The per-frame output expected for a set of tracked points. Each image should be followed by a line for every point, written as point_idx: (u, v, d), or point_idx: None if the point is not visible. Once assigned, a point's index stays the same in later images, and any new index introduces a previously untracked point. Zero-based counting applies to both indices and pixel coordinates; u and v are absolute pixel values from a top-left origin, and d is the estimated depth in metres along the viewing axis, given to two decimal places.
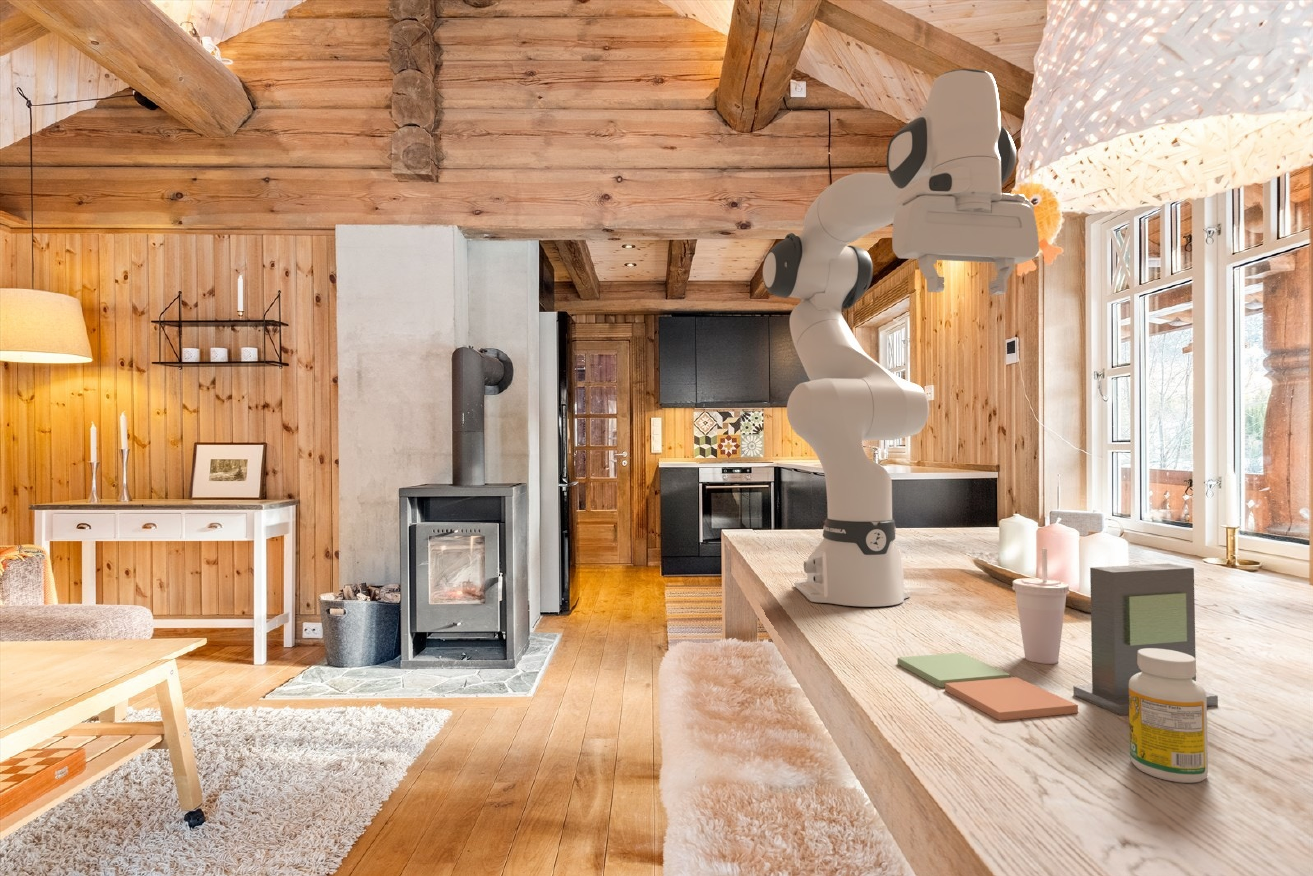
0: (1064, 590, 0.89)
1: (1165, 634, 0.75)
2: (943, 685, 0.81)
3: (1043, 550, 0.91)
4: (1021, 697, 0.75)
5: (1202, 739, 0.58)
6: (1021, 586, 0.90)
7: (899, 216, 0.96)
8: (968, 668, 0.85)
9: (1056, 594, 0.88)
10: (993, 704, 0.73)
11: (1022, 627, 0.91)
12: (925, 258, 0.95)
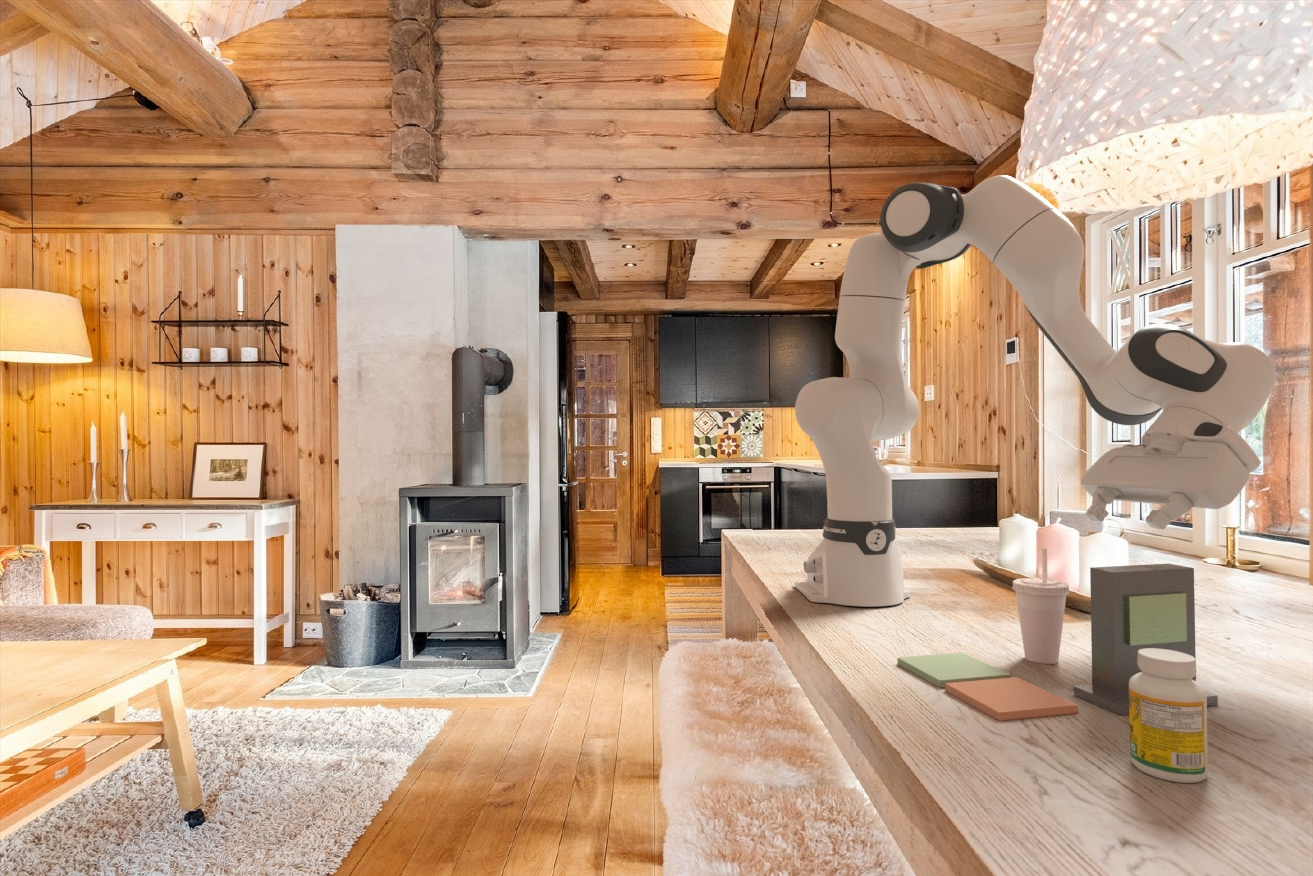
0: (1064, 590, 0.89)
1: (1165, 634, 0.75)
2: (943, 685, 0.81)
3: (1043, 550, 0.91)
4: (1021, 697, 0.75)
5: (1202, 739, 0.58)
6: (1021, 586, 0.90)
7: (1235, 465, 0.86)
8: (968, 668, 0.85)
9: (1056, 594, 0.88)
10: (993, 704, 0.73)
11: (1022, 627, 0.91)
12: (1189, 505, 0.88)
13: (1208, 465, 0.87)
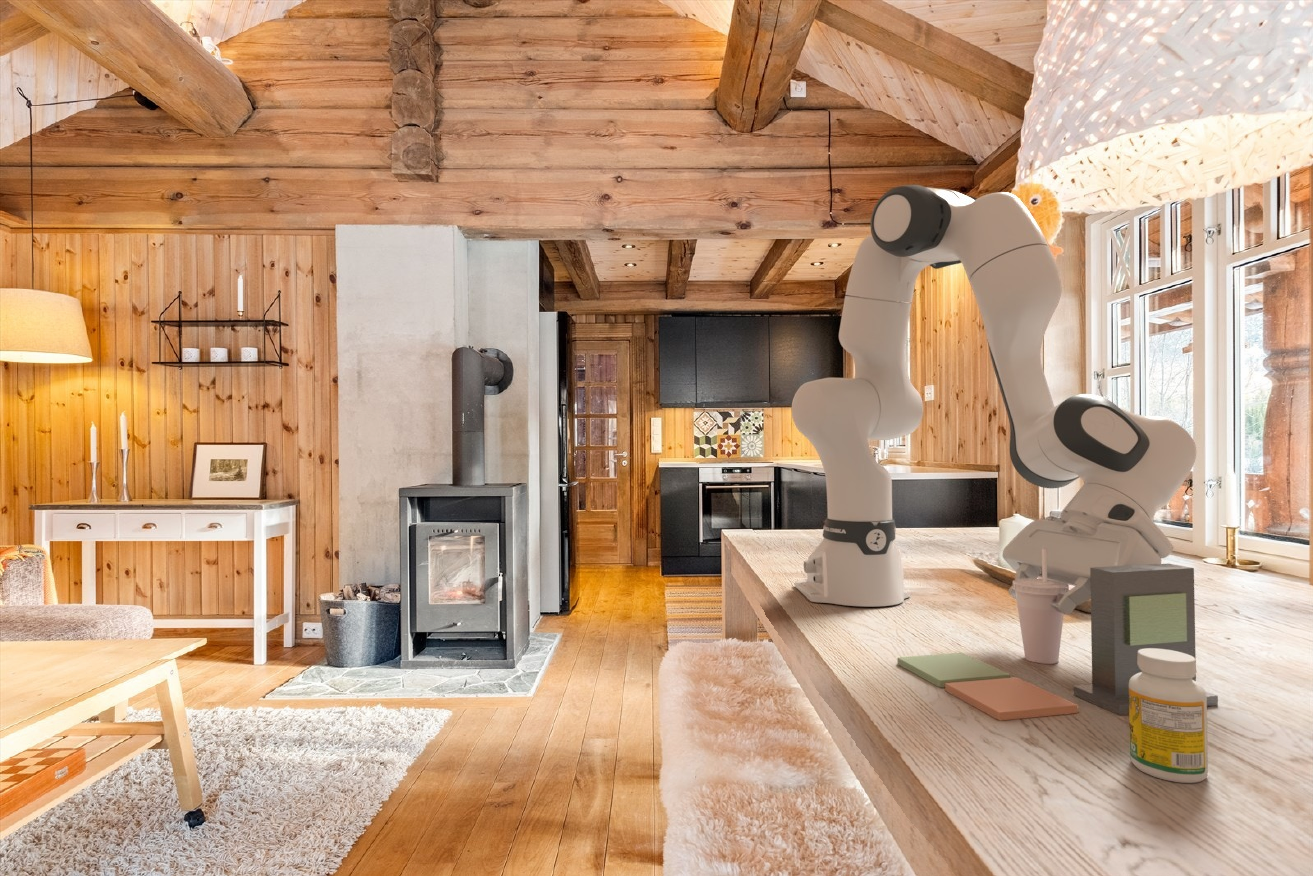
0: (1064, 590, 0.89)
1: (1165, 634, 0.75)
2: (943, 685, 0.81)
3: (1043, 550, 0.91)
4: (1021, 697, 0.75)
5: (1202, 739, 0.58)
6: (1021, 586, 0.90)
7: (1145, 553, 0.83)
8: (968, 668, 0.85)
9: (1055, 594, 0.88)
10: (993, 704, 0.73)
11: (1022, 627, 0.91)
12: None
13: (1119, 552, 0.84)
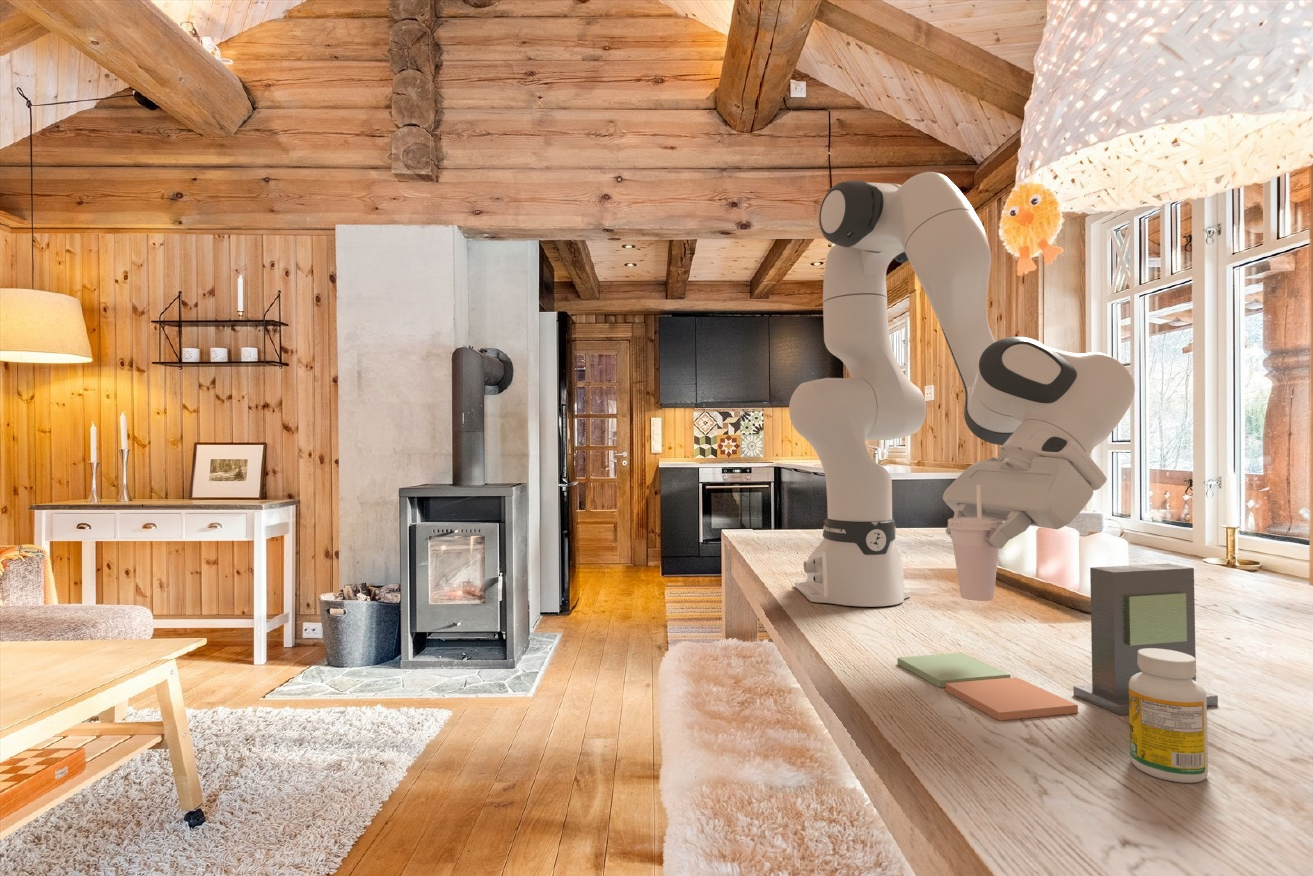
0: (997, 525, 0.87)
1: (1165, 634, 0.75)
2: (943, 685, 0.81)
3: (977, 486, 0.89)
4: (1021, 697, 0.75)
5: (1202, 739, 0.58)
6: (955, 522, 0.88)
7: (1076, 483, 0.81)
8: (968, 668, 0.85)
9: (988, 529, 0.86)
10: (993, 704, 0.73)
11: (957, 565, 0.89)
12: (1026, 523, 0.84)
13: (1050, 483, 0.83)
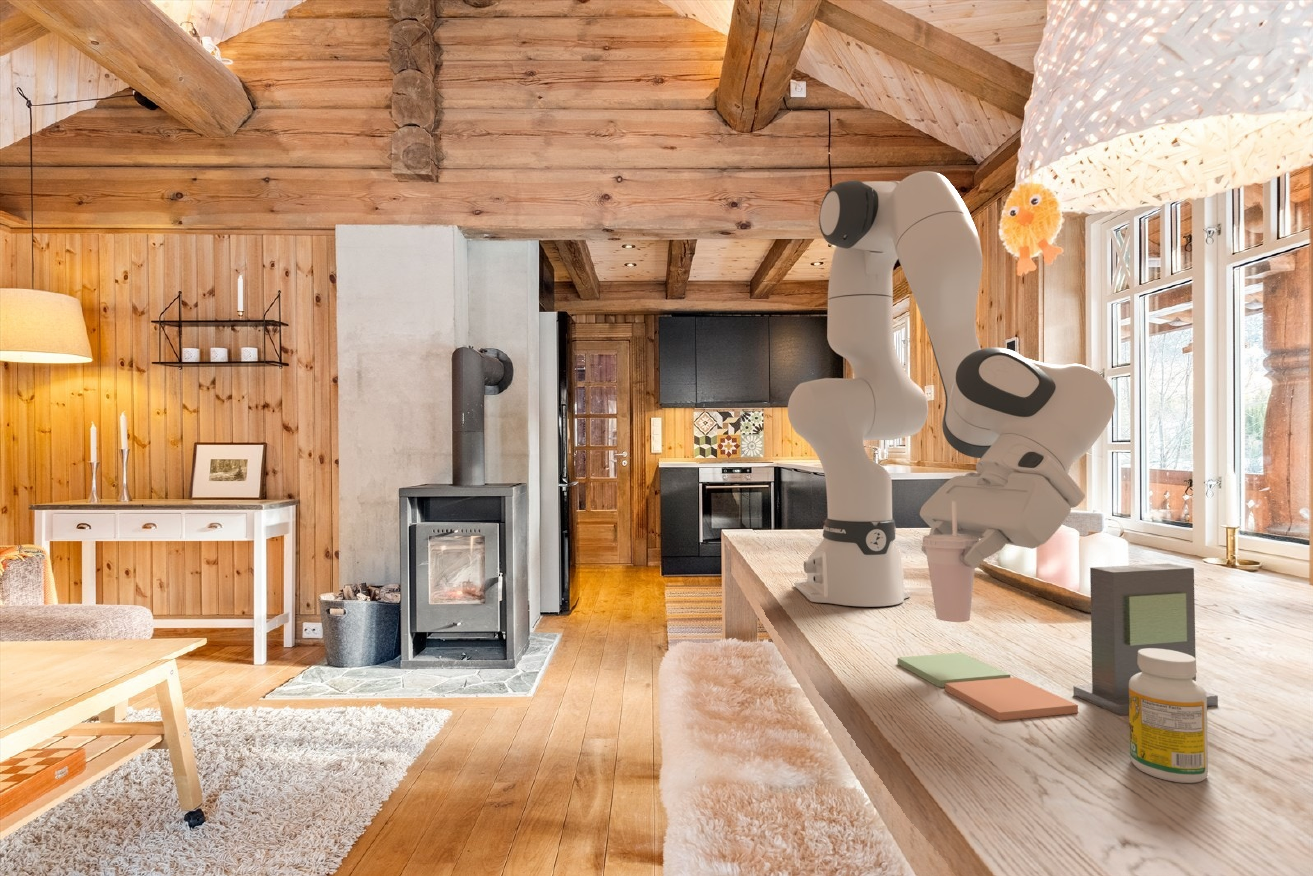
0: (973, 543, 0.84)
1: (1165, 634, 0.75)
2: (943, 685, 0.81)
3: (952, 503, 0.86)
4: (1021, 697, 0.75)
5: (1202, 739, 0.58)
6: (929, 540, 0.85)
7: (1052, 500, 0.78)
8: (968, 668, 0.85)
9: (963, 547, 0.83)
10: (993, 704, 0.73)
11: (932, 584, 0.86)
12: (1002, 542, 0.81)
13: (1026, 500, 0.80)
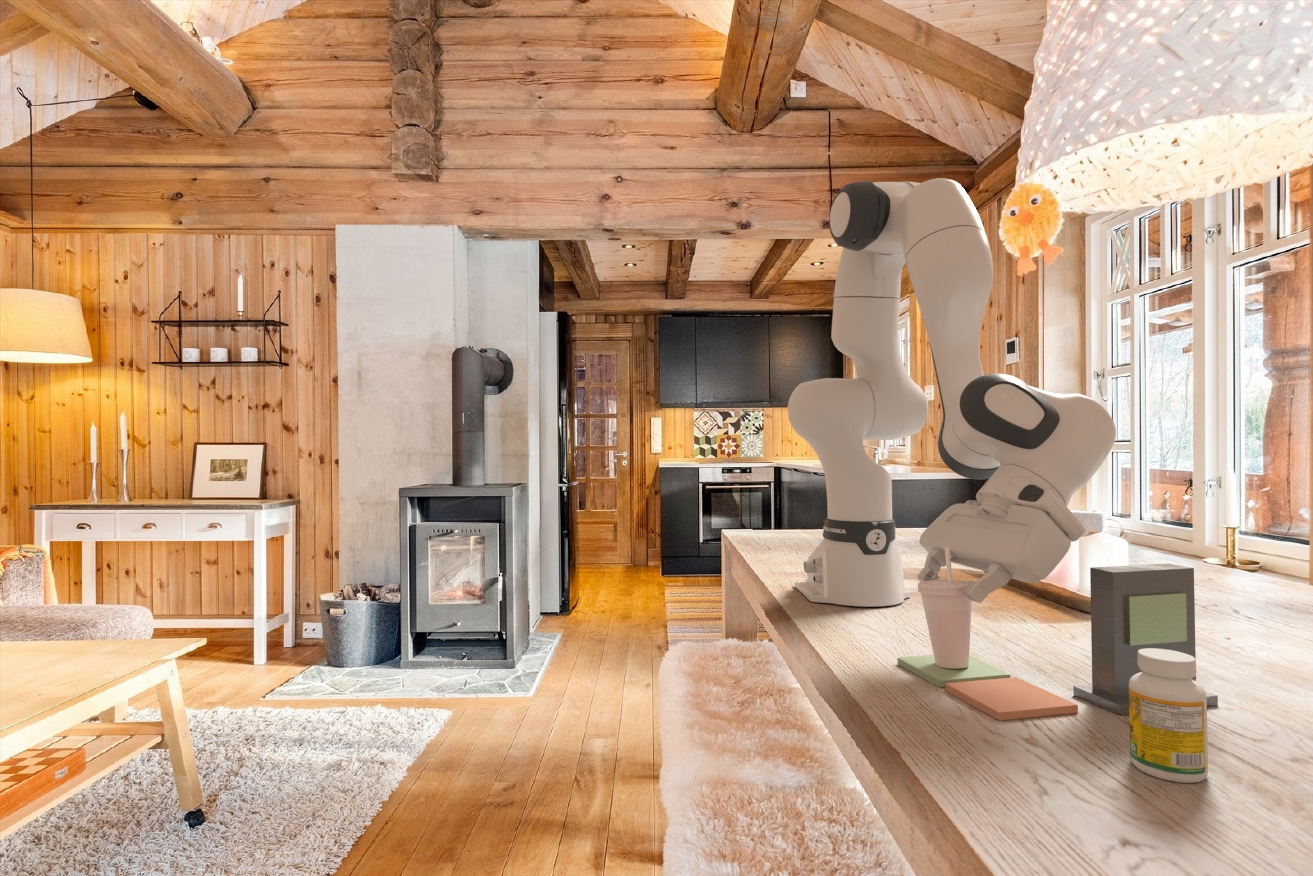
0: None
1: (1165, 634, 0.75)
2: (943, 685, 0.81)
3: (946, 548, 0.87)
4: (1021, 697, 0.75)
5: (1202, 739, 0.58)
6: (925, 587, 0.86)
7: (1052, 535, 0.78)
8: (968, 668, 0.85)
9: (959, 594, 0.84)
10: (993, 704, 0.73)
11: (930, 631, 0.87)
12: (1007, 577, 0.81)
13: (1026, 534, 0.80)
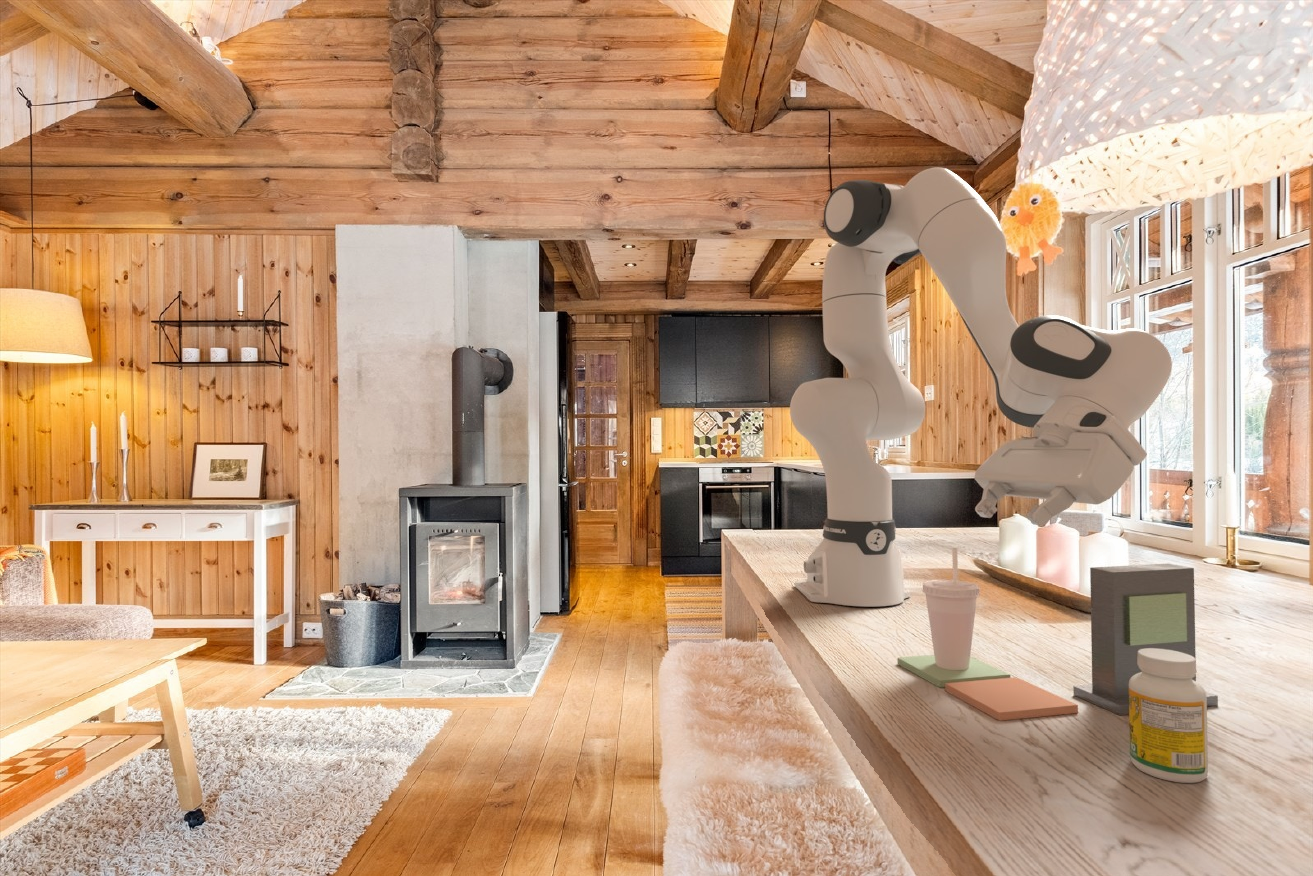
0: (973, 592, 0.84)
1: (1165, 634, 0.75)
2: (943, 685, 0.81)
3: (953, 550, 0.86)
4: (1021, 697, 0.75)
5: (1202, 739, 0.58)
6: (930, 588, 0.85)
7: (1116, 457, 0.80)
8: (968, 668, 0.85)
9: (964, 597, 0.83)
10: (993, 704, 0.73)
11: (932, 631, 0.86)
12: (1070, 500, 0.82)
13: (1089, 457, 0.81)
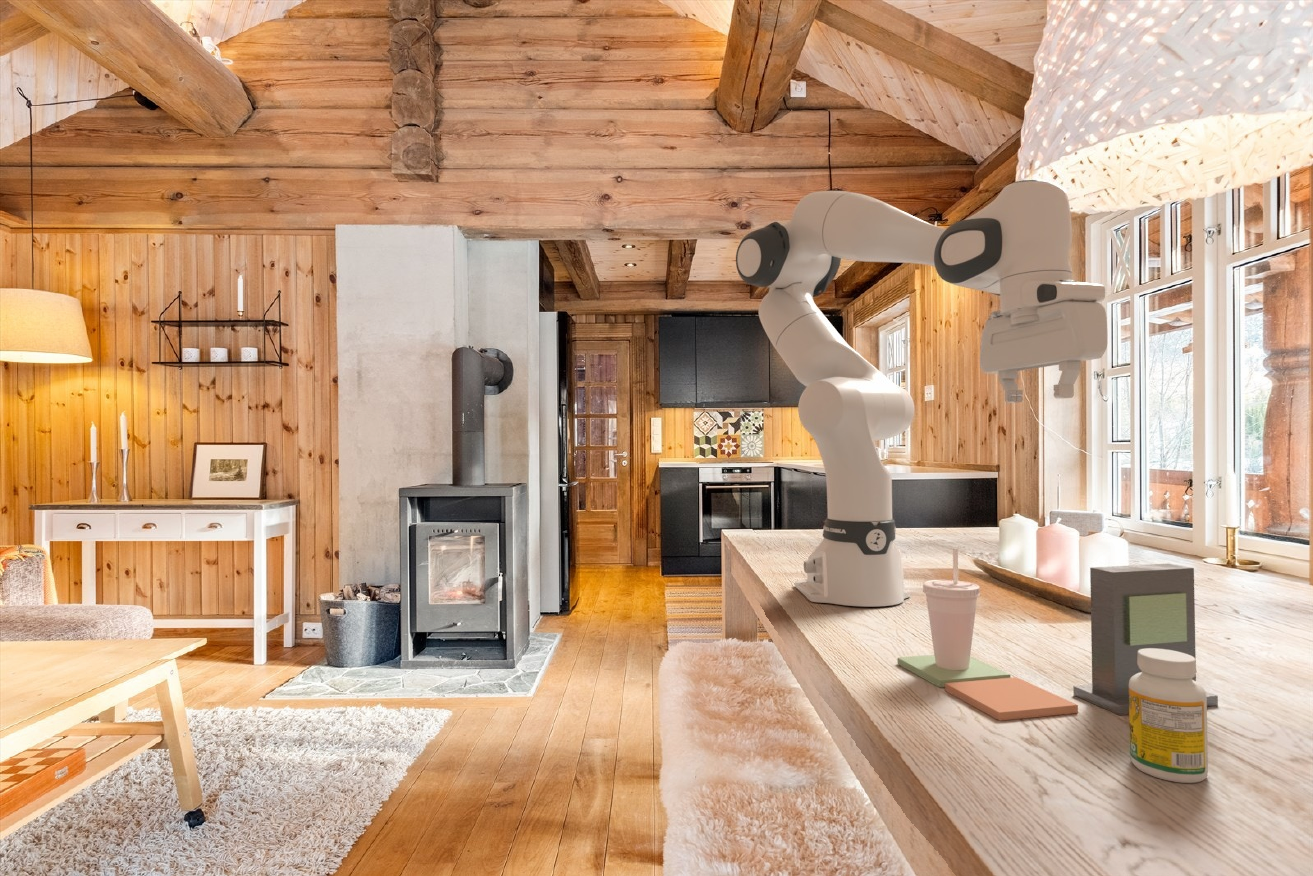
0: (974, 592, 0.84)
1: (1165, 634, 0.75)
2: (943, 685, 0.81)
3: (954, 550, 0.86)
4: (1021, 697, 0.75)
5: (1202, 739, 0.58)
6: (930, 588, 0.85)
7: (1088, 314, 0.89)
8: (968, 668, 0.85)
9: (964, 597, 0.83)
10: (993, 704, 0.73)
11: (932, 631, 0.86)
12: (1077, 364, 0.92)
13: (1068, 327, 0.90)
